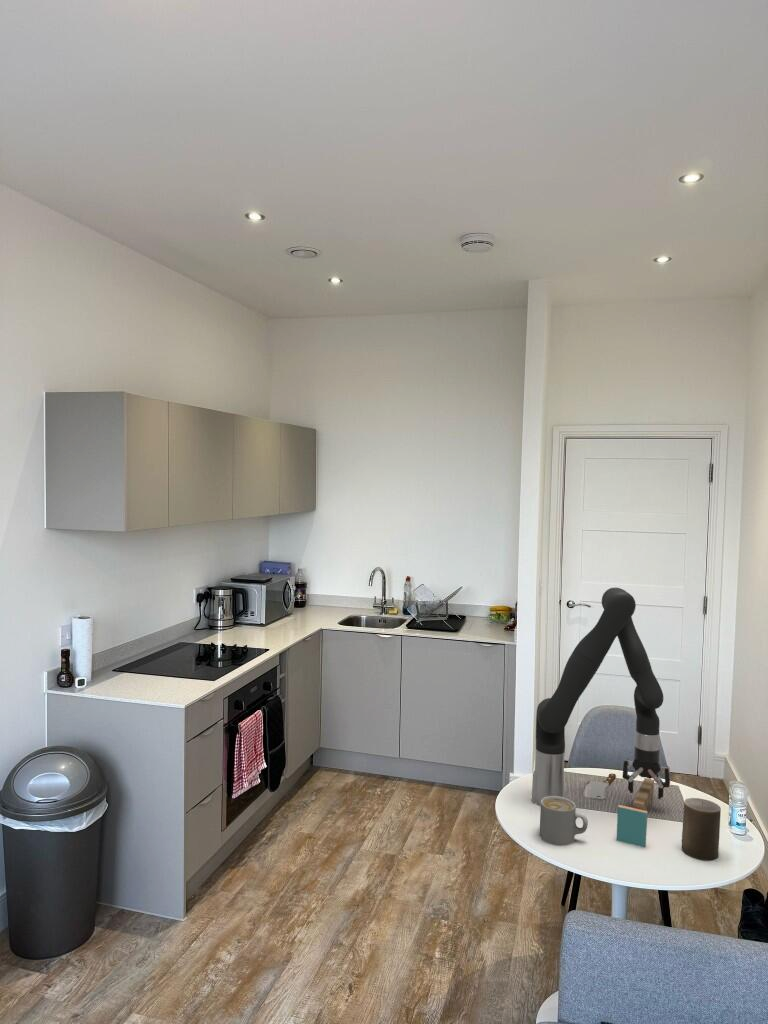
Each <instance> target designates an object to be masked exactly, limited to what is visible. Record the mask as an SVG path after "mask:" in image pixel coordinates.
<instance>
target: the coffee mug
mask: <svg viewBox="0 0 768 1024" xmlns="http://www.w3.org/2000/svg"><path fill="white" fill-rule="evenodd" d="M576 806H577V805H576V803H575V802H573V800H571V799H569V798H566V797H564V796H563V797H559V796H548V797H544V798H543V799H542V800H541V806H540V814H539V832H538V833H539V837H540V839H541V840H543V841H544V842H546V843H548V844H551V845H555V846H568V845H571V844H573V843H574V842H575V836H576V835H581V834H584V833H585V832H586V831H587V829H588V818H587V816H586V814H584V813H582V812H580V811H577V810H576V809H577V807H576ZM577 819H581V821H582V827H579V826H578V825H577Z"/></svg>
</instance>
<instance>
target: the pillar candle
mask: <svg viewBox="0 0 768 1024" xmlns="http://www.w3.org/2000/svg"><path fill="white" fill-rule="evenodd" d="M721 812H722V809H721V806H720V805H719V804H717V803H716V802H714V801H712V800H709V799H704V798H700V797H699V798H698V797H688V798H685V799H684V803H683V816H682V817H683V818H682V820H683V821H682V829H681V830H682V831H681V849H682V851H683V853H685V854H686V855H688V856H690V857H692V858H695V859H697V860H701V861H702V860H703V861H704V860H705V861H714V860H717V859H718V857H719V847H720V830H721V829H720V828H721V816H722V815H721Z"/></svg>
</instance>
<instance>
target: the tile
mask: <svg viewBox="0 0 768 1024" xmlns="http://www.w3.org/2000/svg"><path fill="white" fill-rule="evenodd" d="M648 811H649V810H648ZM648 811H644V810H640V809H635V808H633V807H630V806H626V805H621V804H618V806H617V818H616V819H617V821H616V840H615V841H618V842H621V843H625V844H629V845H633V846H636V847H642V848H646V847H647V835H648V834H647V831H648Z"/></svg>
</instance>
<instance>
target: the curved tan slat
mask: <svg viewBox="0 0 768 1024" xmlns="http://www.w3.org/2000/svg"><path fill="white" fill-rule="evenodd" d="M654 793H655V781H654V779H653V778H651V779H649V778H646V777H644V779H643V782H642V783H641V786H640V788H639V790H638V792H637V795H636V797H635V799H634V801H633V807H632V808H635V809H640V810H644V811H649V809H650V807H651V804H652V801H653V799H654V795H655V794H654Z"/></svg>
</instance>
